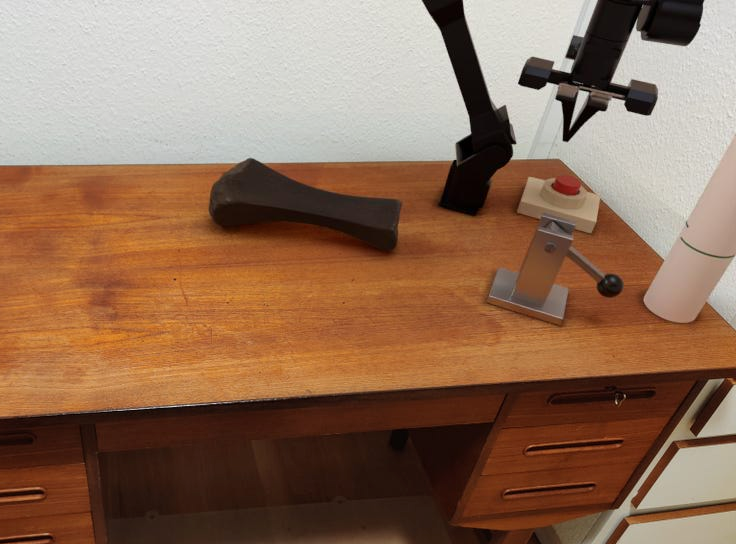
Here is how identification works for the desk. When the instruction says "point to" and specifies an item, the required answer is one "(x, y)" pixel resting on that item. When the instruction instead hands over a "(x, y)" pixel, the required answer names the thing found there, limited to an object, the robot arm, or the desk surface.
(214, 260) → the desk surface
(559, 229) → the lever
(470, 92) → the robot arm
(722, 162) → the cylindrical container
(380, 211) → the dark brown bone
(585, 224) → the button box
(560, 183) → the button
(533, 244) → the bracket
